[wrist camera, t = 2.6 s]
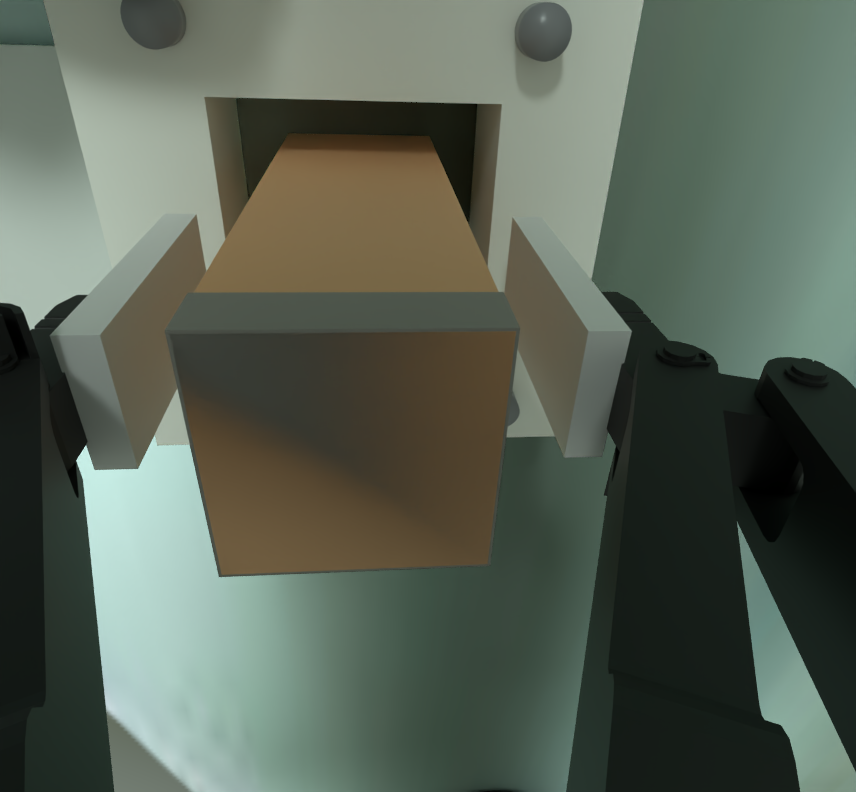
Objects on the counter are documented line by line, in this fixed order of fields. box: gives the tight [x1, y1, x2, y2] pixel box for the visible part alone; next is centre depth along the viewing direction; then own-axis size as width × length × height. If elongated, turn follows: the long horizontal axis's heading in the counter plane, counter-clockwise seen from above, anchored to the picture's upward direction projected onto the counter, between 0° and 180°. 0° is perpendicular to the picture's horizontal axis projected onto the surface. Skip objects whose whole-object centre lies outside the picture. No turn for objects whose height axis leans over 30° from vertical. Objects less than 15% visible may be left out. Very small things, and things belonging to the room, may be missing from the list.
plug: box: [165, 133, 520, 577], centre depth 15 cm, size 5×5×14 cm
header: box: [43, 0, 644, 445], centre depth 19 cm, size 14×14×5 cm
